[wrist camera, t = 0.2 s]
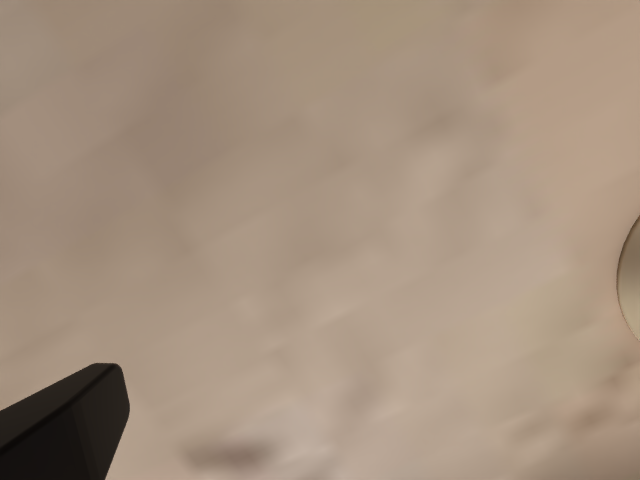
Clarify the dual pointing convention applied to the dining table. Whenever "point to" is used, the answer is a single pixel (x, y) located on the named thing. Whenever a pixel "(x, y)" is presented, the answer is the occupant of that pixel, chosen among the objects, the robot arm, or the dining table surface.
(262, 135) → the dining table surface
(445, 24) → the dining table surface
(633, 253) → the coaster
